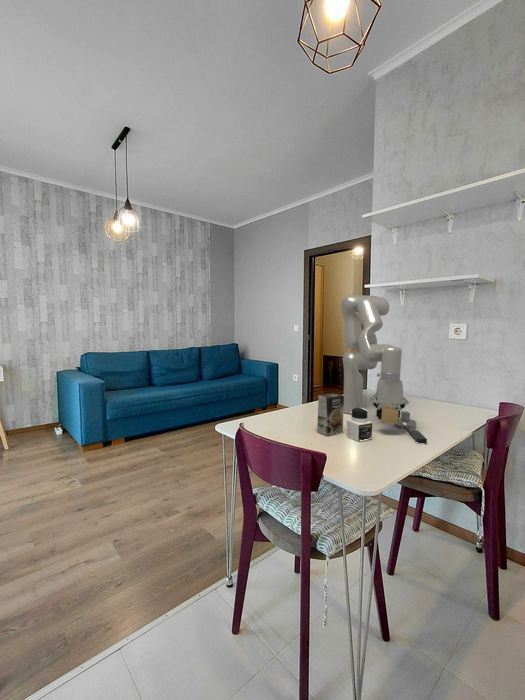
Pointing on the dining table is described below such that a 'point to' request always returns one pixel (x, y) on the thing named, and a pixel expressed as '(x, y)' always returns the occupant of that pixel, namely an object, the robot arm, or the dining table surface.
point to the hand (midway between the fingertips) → (387, 418)
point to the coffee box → (330, 413)
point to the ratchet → (410, 427)
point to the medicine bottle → (359, 425)
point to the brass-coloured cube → (389, 414)
